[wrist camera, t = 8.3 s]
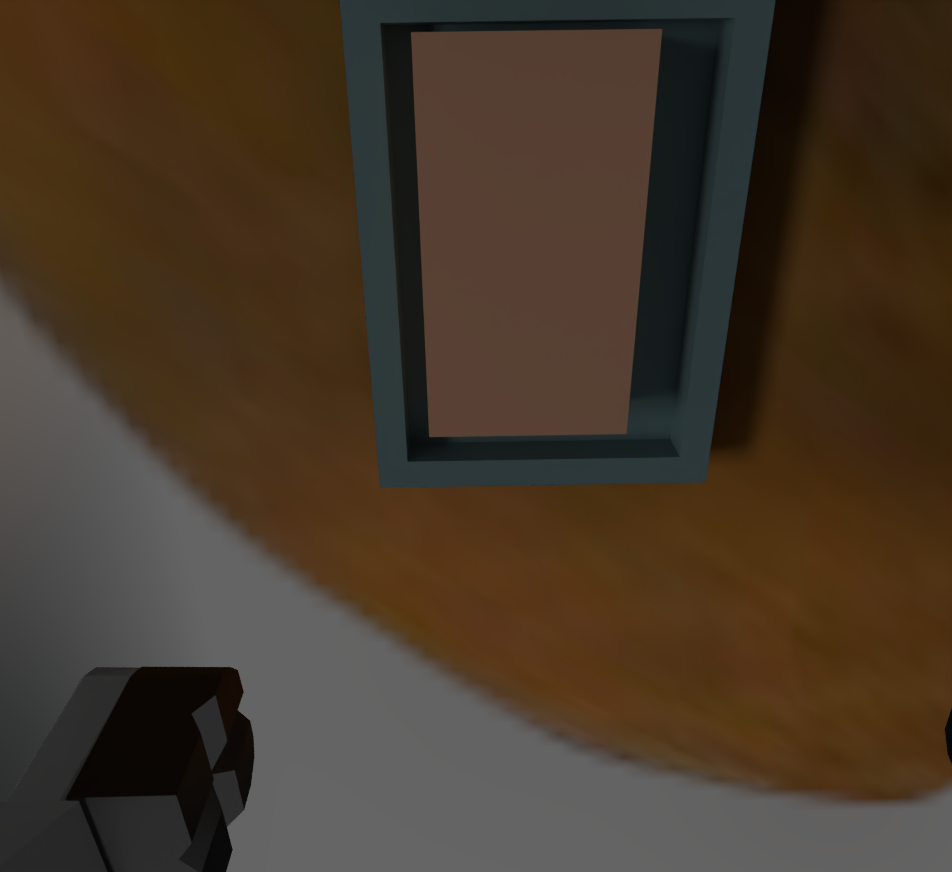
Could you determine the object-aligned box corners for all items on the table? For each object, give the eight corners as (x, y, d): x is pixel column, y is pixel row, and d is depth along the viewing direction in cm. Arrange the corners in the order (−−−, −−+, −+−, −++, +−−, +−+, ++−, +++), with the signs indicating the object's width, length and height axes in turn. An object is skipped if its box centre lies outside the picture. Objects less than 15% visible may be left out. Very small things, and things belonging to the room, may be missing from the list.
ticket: (417, 36, 16) (411, 31, 15) (641, 33, 16) (662, 28, 15) (432, 405, 20) (429, 437, 19) (612, 401, 20) (626, 434, 19)
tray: (348, -15, 16) (337, -22, 15) (754, -21, 16) (779, -28, 15) (385, 461, 22) (380, 487, 20) (691, 456, 22) (705, 482, 20)
